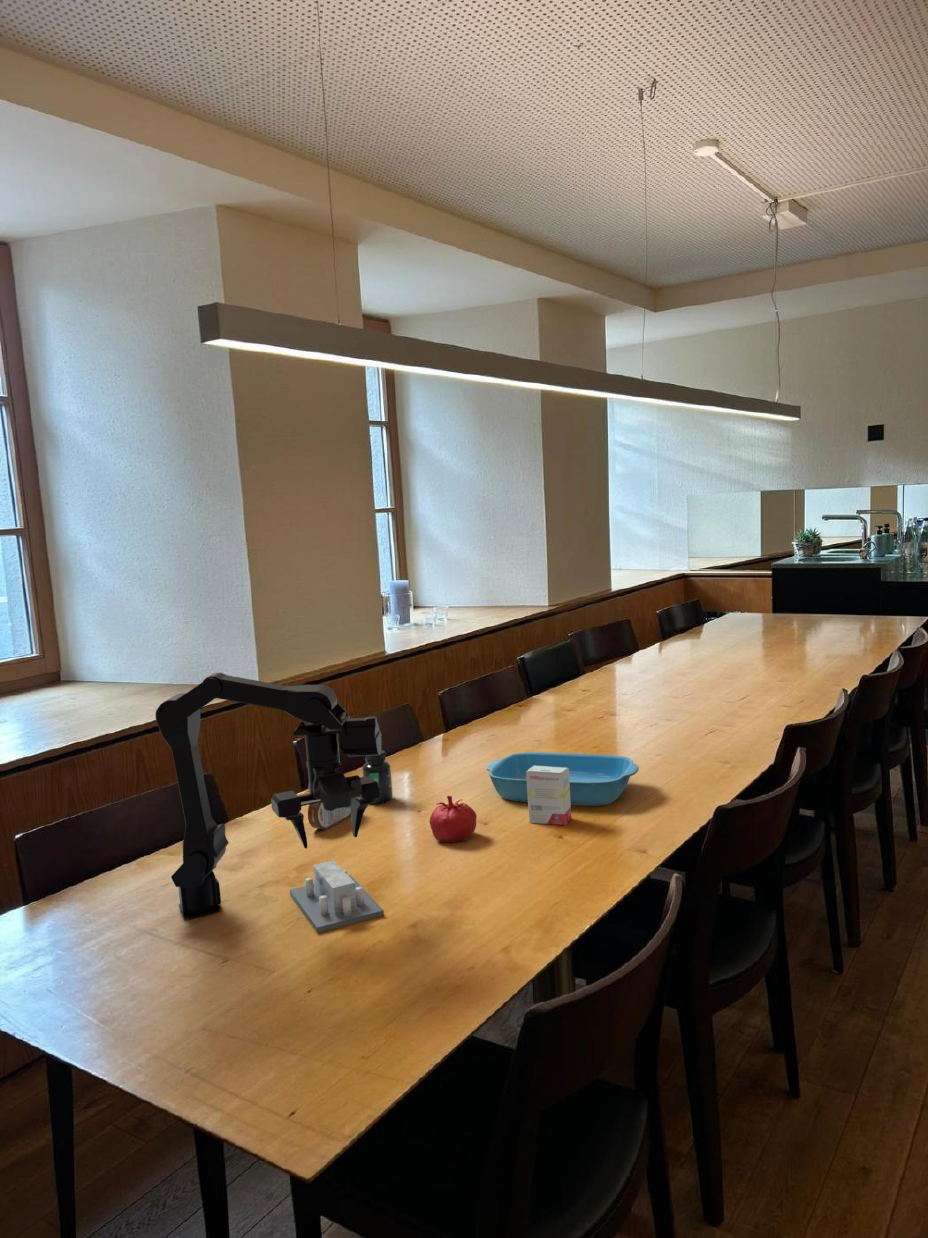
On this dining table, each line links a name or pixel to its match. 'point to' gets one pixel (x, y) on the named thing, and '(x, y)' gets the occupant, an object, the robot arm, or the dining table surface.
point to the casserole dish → (588, 775)
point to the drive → (334, 885)
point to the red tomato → (453, 821)
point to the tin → (326, 816)
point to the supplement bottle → (379, 776)
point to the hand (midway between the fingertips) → (330, 842)
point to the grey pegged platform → (323, 916)
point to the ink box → (548, 795)
